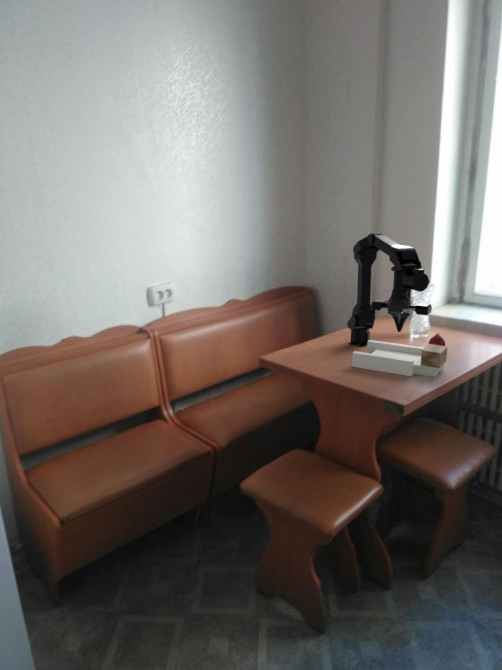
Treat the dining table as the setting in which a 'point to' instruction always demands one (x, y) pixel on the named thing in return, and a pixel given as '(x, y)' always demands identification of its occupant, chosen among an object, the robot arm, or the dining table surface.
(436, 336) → the onion
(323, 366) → the dining table surface
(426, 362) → the block
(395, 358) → the track
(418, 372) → the pad
